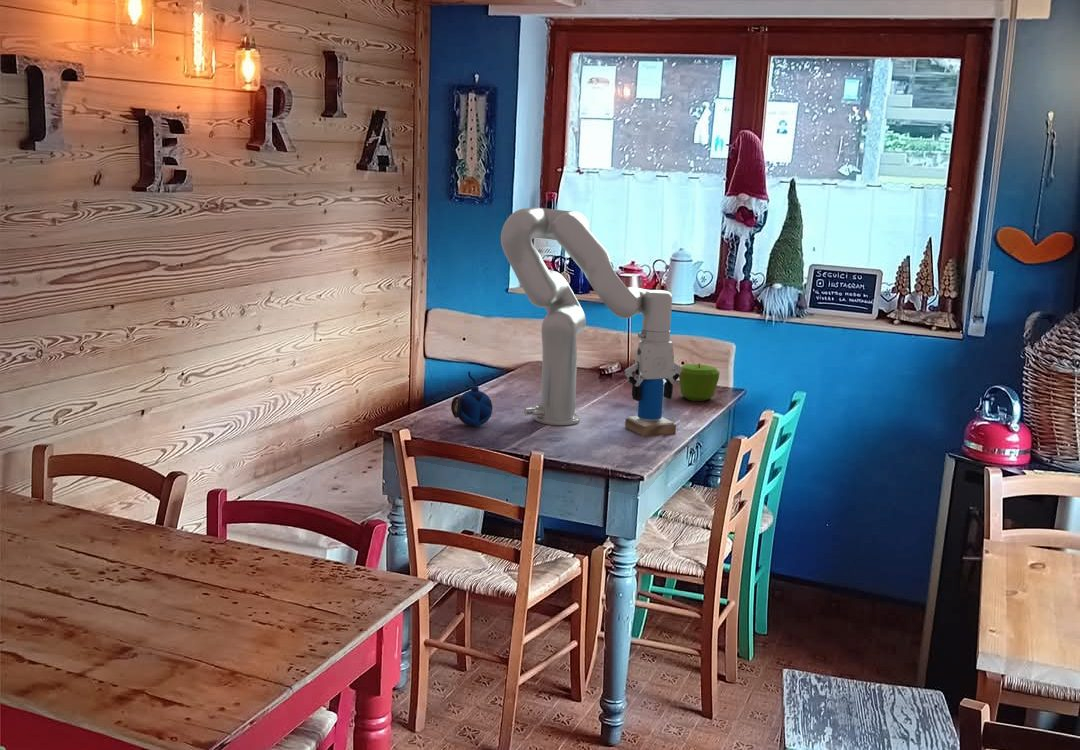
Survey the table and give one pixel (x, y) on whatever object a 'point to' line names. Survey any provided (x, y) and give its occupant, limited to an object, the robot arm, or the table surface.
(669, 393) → the robot arm
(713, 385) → the apple
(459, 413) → the bomb
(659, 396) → the beverage can
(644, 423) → the pedestal
